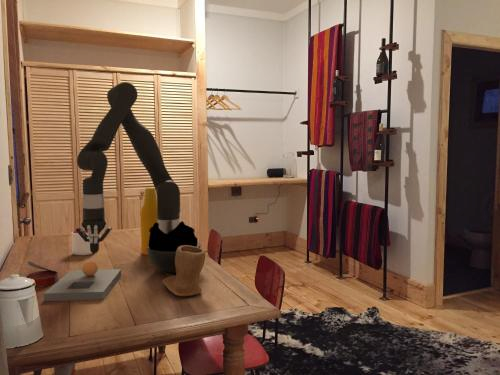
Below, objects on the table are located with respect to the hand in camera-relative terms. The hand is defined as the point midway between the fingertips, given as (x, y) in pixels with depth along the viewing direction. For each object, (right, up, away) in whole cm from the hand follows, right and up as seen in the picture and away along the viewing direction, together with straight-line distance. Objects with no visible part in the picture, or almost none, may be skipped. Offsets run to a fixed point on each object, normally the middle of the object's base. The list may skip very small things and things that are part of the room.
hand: (94, 252), depth 156 cm
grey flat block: (+2, -10, -12) cm, 16 cm away
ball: (+1, -4, -8) cm, 9 cm away
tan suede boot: (+36, -10, -16) cm, 41 cm away
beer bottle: (+13, -5, +33) cm, 36 cm away
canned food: (-16, -10, -7) cm, 20 cm away
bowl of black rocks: (+28, -8, +6) cm, 30 cm away
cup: (-17, -6, +33) cm, 38 cm away
